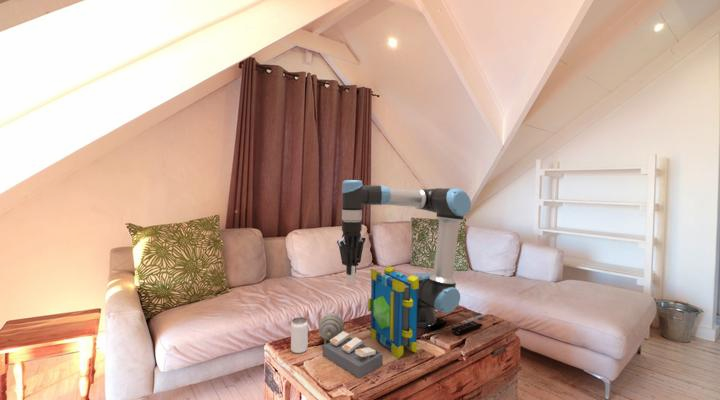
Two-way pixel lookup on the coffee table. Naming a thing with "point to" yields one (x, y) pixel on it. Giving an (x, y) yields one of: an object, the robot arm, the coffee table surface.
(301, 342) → the can
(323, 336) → the grey ribbed rounded piece
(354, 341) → the rocker
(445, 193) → the robot arm
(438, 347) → the coffee table surface
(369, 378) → the coffee table surface
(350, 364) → the rocker switch panel
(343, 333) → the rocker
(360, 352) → the small box
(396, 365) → the coffee table surface
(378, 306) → the decorative book
